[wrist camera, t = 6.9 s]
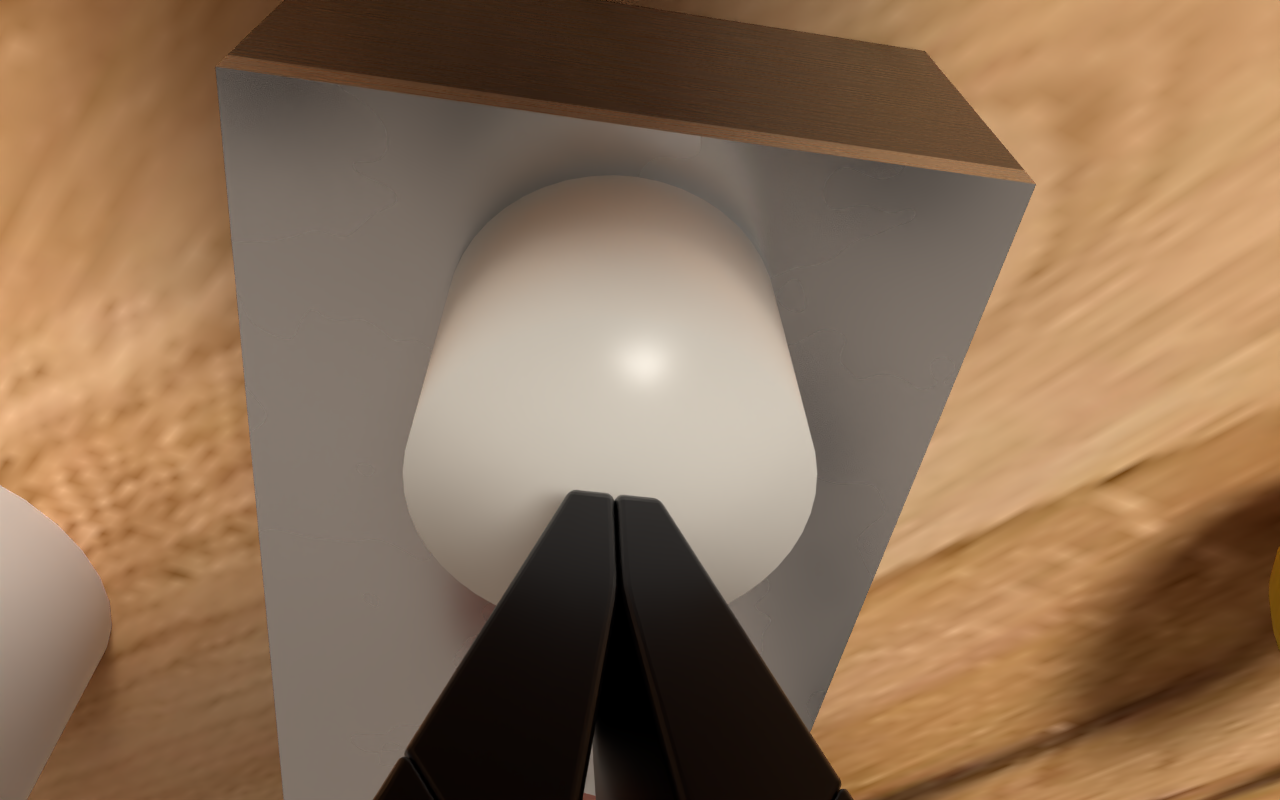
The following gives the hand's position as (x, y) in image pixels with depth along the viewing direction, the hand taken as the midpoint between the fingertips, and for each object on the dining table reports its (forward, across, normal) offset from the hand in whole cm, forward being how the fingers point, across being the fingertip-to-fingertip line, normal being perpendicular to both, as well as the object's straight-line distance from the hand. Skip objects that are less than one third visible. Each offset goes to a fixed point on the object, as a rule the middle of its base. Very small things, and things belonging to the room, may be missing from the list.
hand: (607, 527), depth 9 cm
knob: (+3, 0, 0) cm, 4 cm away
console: (+9, 0, +8) cm, 12 cm away
